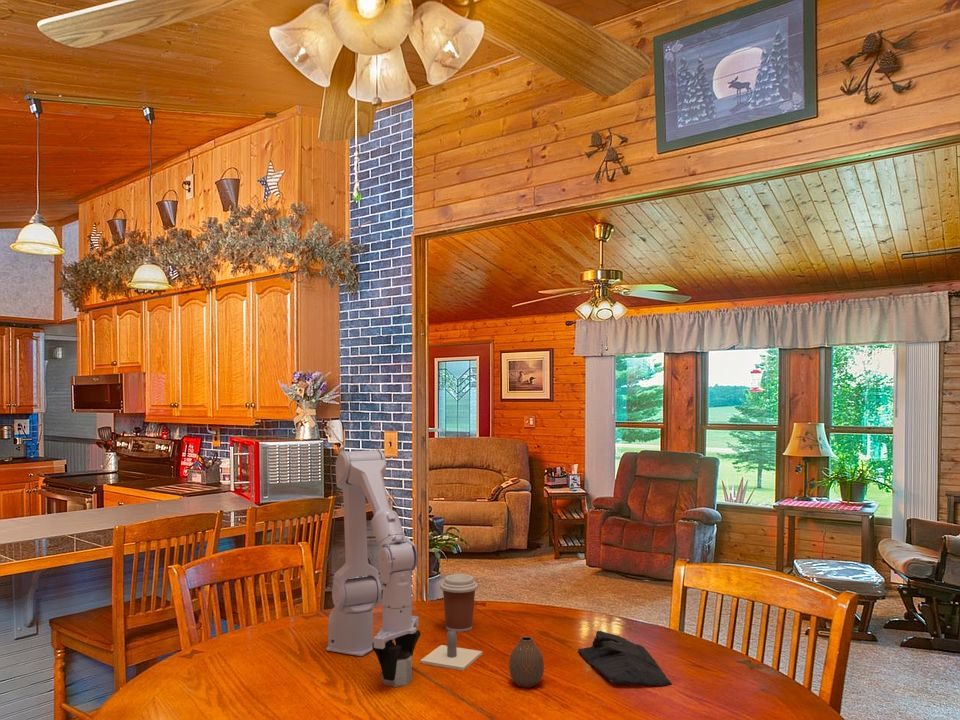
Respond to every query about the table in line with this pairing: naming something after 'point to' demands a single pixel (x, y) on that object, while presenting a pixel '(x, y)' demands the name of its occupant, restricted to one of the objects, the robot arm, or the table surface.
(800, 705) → the table surface
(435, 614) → the table surface
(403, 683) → the collar
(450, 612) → the coffee cup
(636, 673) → the crumpled black cloth
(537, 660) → the vase
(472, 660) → the post stand
